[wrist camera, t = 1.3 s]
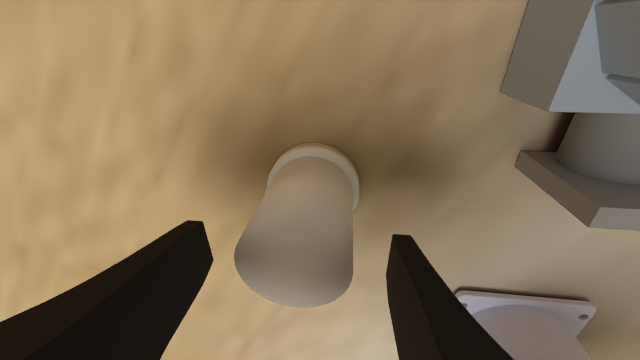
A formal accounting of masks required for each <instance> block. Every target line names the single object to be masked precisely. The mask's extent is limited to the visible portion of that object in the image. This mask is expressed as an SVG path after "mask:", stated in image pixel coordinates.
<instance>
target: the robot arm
mask: <svg viewBox="0 0 640 360" xmlns="http://www.w3.org/2000/svg"><path fill="white" fill-rule="evenodd" d="M212 262H213V256H212V253H211V249H210V246H209V242H208V238H207V235H206V231H205V228H204V224H203V221H189V220H188V221H186V222H184V223H182V224H181V225H179V226H177V227H175V228H174V229H172V230H171V231H169V232H167V233H166V234H164V235H162V236H161V237H159V238H158V239H156V240H155V241H153V242H151V243H150V244H148V245H146V246H145V247H143V248H142V249H140V250H138V251H137V252H135V253H134V254H132V255H130V256H129V257H127V258H125V259H124V260H122V261H120V262H118V263H117V264H115V265H113V266H112V267H110V268H108V269H106V270H105V271H103V272H101V273H99V274H98V275H96V276H94V277H92V278H91V279H89V280H87V281H85V282H83V283H81V284H79V285H78V286H76V287H74V288H72V289H70V290H68V291H66V292H64V293H62V294H60V295H58V296H56V297H54V298H52V299H50V300H48V301H46V302H44V303H41V304H39V305H37V306H35V307H33V308H30V309H28V310H26V311H24V312H22V313H19V314H17V315H15V316H13V317H10V318H8V319H6V320H4V321H2V322H0V360H160V358H161V356H162V354H163V353H164V351H165V349H166V347H167V345H168V343H169V342H170V340H171V338H172V337H173V335H174V333H175V331H176V330H177V328H178V326H179V325H180V323H181V321H182V320H183V318H184V316H185V315H186V313H187V311H188V310H189V308H190V306H191V304H192V303H193V301H194V299H195V298H196V296H197V294H198V292H199V291H200V289H201V287H202V285H203V283H204V281H205V279H206V277H207V275H208V272H209V270H210V267H211V265H212ZM386 279H387V293H388V303H389V308H390V314H391V319H392V325H393V330H394V335H395V340H396V346H397V351H398V356H399V360H592V359H591V358H590V356H589V355H588V354H587V352H586V351H585V349H584V348H583V347H582V345H581V344H580V343H579V341H578V340H577V338H576V337H577V336H578V334H579V333H580V332H581V331H582V329H583V328H584V327H585V326H586V324H587V323H588V322H589V321H590V319H591V318H592V317H593V316H594V314H595V313H596V311H597V309H596V307H595V306H594V305H593V304H592V303H591V302H588V301H578V300H567V299H556V298H544V297H533V296H522V295H511V294H499V293H488V292H477V291H466V290H463V291H459V292H457V293H456V294H455V295H454V294H453V292H452V291H451V290H450V289H449V287H448V286H447V285H446V284H445V282H444V281H443V280H442V278H441V277H440V276H439V275H438V273H437V272H436V271H435V269H434V268H433V267H432V265H431V264H430V262H429V261H428V260H427V258H426V257H425V255H424V254H423V253H422V251H421V250H420V248H419V247H418V245H417V244H416V242H415V241H414V239H413V238H412V237H411V236H410V235H398V234H393V236H392V242H391V248H390V254H389V260H388V266H387V272H386Z"/></svg>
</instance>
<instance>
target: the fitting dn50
mask: <svg viewBox="0 0 640 360" xmlns="http://www.w3.org/2000/svg"><path fill="white" fill-rule="evenodd" d="M358 201H359V178H358V174H357V171H356V169H355V166H354V165H353V163H352V162H351V161H350V159H349V158H348V157H347V156H346V155H345V154H343V153H342V152H341V151H339V150H338V149H336V148H334V147H331V146H329V145H326V144H321V143H304V144H300V145H296V146H294V147H292V148H290V149H288V150H287V151H285V152H284V153H283V154H282V155H281V156H280V157H279V159H278V160H277V162H276V163H275V165H274V167H273V168H272V170H271V172H270V174H269V176H268V180H267V191H266V193H265V195H264V196H263V198H262V200H261V202H260V204H259V205H258V207H257V209H256V211H255V213H254V214H253V216H252V218H251V220H250V222H249V223H248V225H247V227H246V229H245V230H244V232H243V234H242V236H241V238H240V239H239V241H238V243H237V246H236V248H235V253H234V260H235V265H236V268H237V271H238V273H239V275H240V276H241V278H242V279H243V281H244V282H245V283H246V284H247V285H248V286H249V287H250V288H251V289H252V290H253V291H255V292H256V293H258V294H259V295H261V296H262V297H264V298H266V299H268V300H270V301H273V302H275V303H279V304H282V305H286V306H291V307H316V306H320V305H324V304H327V303H330V302H332V301H334V300H335V299H337V298H339V297H340V296H341V295H342V294H343V293H344V292H345V291H346V290H347V288H348V287H349V285H350V283H351V280H352V275H353V212H354V211H355V209H356V207H357V204H358Z"/></svg>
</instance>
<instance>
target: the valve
mask: <svg viewBox="0 0 640 360" xmlns="http://www.w3.org/2000/svg"><path fill="white" fill-rule="evenodd" d="M500 92H501V93H503V94H506V95H508V96H511V97H513V98H516V99H518V100H521V101H523V102H526V103H528V104H530V105H533V106H535V107H538V108H540V109H543V110H545V111H548V112H576V113H575V115H574V117H573V119H572V121H571V123H570V125H569V128H568V130H567V132H566V134H565V136H564V138H563V141H562V143H561V145H560V147H559V149H558V151H557V152H542V151H520V154H519V156H518V159H517V162H516V164H515V167H516V168H517V169H519V170H520V171H521V172H522V173H524V174H525V175H526V176H527V177H528V178H530V179H531V180H532V181H533V182H534V183H536V184H537V185H538V186H539V187H540V188H542V189H543V190H544V191H545V192H546V193H548V194H549V195H550V196H551V197H552V198H554V199H555V200H556V201H557V202H558V203H560V204H561V205H562V206H563V207H564V208H566V209H567V210H568V211H569V212H570V213H572V214H573V215H574V216H575V217H576V218H578V219H579V220H580V221H581V222H582V223H584V224H585V225H586V226H587V227H591V228H606V229H622V230H638V231H640V0H529V2H528V5H527V8H526V11H525V15H524V18H523V21H522V24H521V27H520V30H519V34H518V37H517V40H516V43H515V46H514V50H513V53H512V56H511V59H510V62H509V65H508V69H507V72H506V75H505V78H504V81H503V85H502V88H501V91H500Z"/></svg>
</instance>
